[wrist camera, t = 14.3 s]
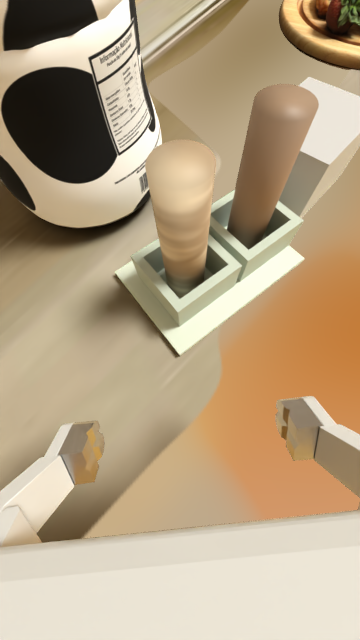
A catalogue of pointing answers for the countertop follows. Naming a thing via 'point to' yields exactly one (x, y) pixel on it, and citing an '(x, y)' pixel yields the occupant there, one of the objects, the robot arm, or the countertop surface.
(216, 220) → the pin board
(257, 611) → the robot arm
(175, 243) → the beech peg
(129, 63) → the milk container
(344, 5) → the wooden plate with food
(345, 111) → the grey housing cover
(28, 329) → the countertop surface
